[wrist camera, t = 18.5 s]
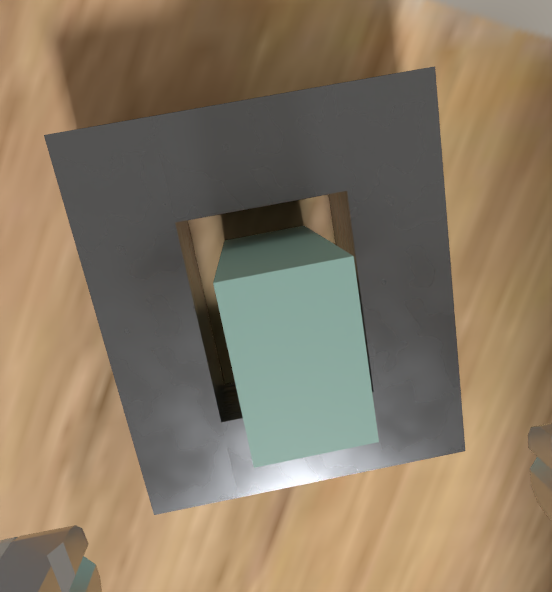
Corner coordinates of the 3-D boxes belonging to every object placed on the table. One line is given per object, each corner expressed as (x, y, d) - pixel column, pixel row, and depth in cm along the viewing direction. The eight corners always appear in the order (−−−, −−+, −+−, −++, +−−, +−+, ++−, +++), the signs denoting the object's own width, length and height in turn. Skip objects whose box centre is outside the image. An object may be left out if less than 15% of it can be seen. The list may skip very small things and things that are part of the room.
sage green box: (303, 225, 22) (353, 256, 13) (322, 337, 24) (379, 442, 14) (224, 240, 22) (213, 283, 12) (247, 352, 24) (253, 467, 14)
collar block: (399, 88, 21) (434, 66, 17) (430, 410, 25) (465, 450, 21) (80, 144, 21) (43, 135, 17) (167, 463, 25) (154, 514, 21)
